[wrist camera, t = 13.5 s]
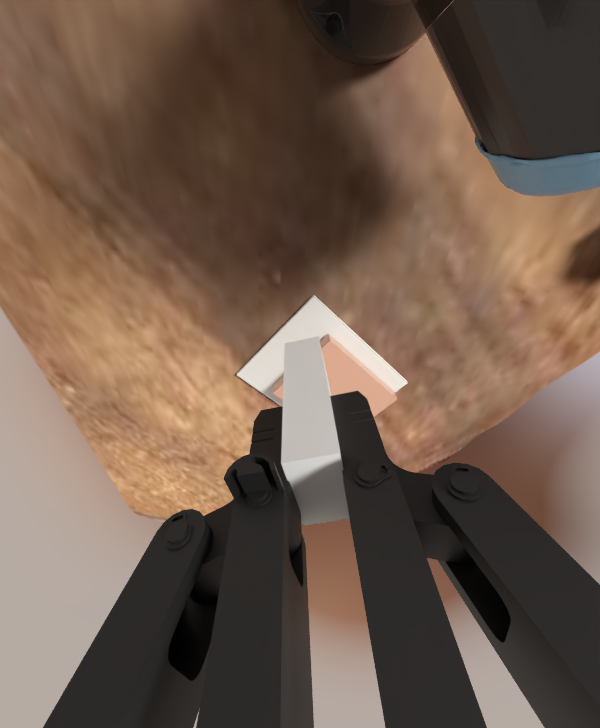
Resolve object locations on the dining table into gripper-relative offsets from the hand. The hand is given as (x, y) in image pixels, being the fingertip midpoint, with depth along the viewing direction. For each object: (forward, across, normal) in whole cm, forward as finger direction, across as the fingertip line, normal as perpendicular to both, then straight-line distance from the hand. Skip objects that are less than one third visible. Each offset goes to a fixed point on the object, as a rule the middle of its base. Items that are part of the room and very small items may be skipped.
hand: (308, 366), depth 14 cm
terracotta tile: (+28, -3, -16) cm, 32 cm away
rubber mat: (+29, 0, -20) cm, 36 cm away
